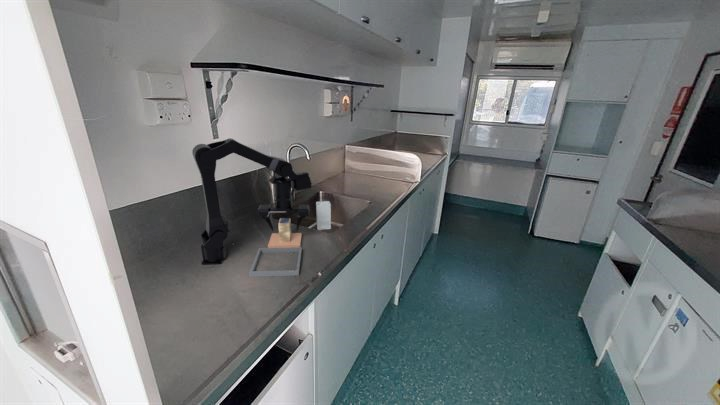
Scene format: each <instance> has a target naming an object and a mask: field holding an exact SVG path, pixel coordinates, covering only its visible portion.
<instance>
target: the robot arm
mask: <svg viewBox="0 0 720 405" xmlns="http://www.w3.org/2000/svg"><path fill="white" fill-rule="evenodd" d="M191 151H192V152H191V153H192V156H193V159H194V161H195V165H196V167H197V169H198V171H199V174H200V178H201V184H202V185H201V186H202V190H203V195H204V196H203V197H204V201H205V203H204V204H205V209H206V220H205V230H203V232H202V233H201V234H200V235H199V237H200V240H201V245H200V249H201V255H202V261H201V265H222V263H223V262H224V260H225V259H226V256H227V251H226V250H227V249H226V245H224V241H225V240H226V239H227V238H228V235H229V233H230V232H231V231H230V230H229V221H228V219H227V217H226V216H225V214H222V215H221V208H220V201H219V196H218V195H219V194H218V189H217V182H216V176H215V175H216V170H217V161H219V160H221V159H224V158H226V157H227V156H229V155H232V154H235V155H238V156H241V157H243V158H245V159H247V160H249V161H253V162H254V163H256V164H259V165H261V166H263V167H266V168H267V169H269V170H270V171H272V172H274V173H275V174H276V175H278V176H275V174H274V175H272V177H271V178H269V179H268V182H270V183H271V184H272V185H274V188H275V189H274V192H275V193H274V197H273V199H274V200H273V201H274V203H275V207H272V206H271V204H260V205H259V207H258V209H257V217H261V219H263V220H264V221H265V222H266V223H267V224H268V225H269V227H270V229H271V231H272V232H274V230H275V225H274V220H273V214H279V213H284V214H285V213H287V214H288V213H289V214H290V213H291V214H292V213H293V214H294V213H297V219H296V221H297V222H296V231H299V228H300V225H301V222H302V220H304V219H305V218H306V217H309V215H310V205H309V204H298V207H293V205H294V202H293V201H294V200H293V195H292V190H294V192H301V191H307V190H310V189H312V185H313V184H312V181H311V177H310V173H309V172H307V171H303V172H300V173H299V172H298V173H295V171H294V170H293V165H292V164H291V162H288V161H287V160H286V159H284V158H280V157H276V156H272V155H268V154H265V153H264V152H263V153H262V152H261V151H259V150H256V149H254V148H252V147H251V146H248V145H246V144H244V143H241V142H238V141H237V140H235V139H233V138H231V137H230V138H227V139H223V140H220V141H215V142H211V143H209V144H208V143H207V144H205V143H198V144H197V145H194V147H193V148H192V150H191Z"/></svg>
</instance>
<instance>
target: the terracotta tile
mask: <svg viewBox="0 0 720 405" xmlns="http://www.w3.org/2000/svg"><path fill="white" fill-rule="evenodd" d="M302 238H303V233H302V232H291V240H290V242H279V232H277V233H276V232H275V233H273V232H272V233H271V235H270V238H269V241H268V245H267V248H287V247H301V244H302Z"/></svg>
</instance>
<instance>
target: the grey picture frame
mask: <svg viewBox="0 0 720 405" xmlns="http://www.w3.org/2000/svg"><path fill="white" fill-rule="evenodd" d="M302 248H303V247H301V246H300V247H287V248H268V247H259V248H258V249H257V251H256V254H255V256H254V259H253V261H252V264H251V267H250V270H249V272H248V275H249V277H250V278H255V277H256V278H257V277H285V276H287V277H288V276H289V277H291V276H292V277H294V276H299V275H300V268H301V262H302V261H301V260H302V253H303V249H302ZM292 252H293V253H298V254H297V255H298V256H297V263H296V269H294V270H290V269H288V270H287V269H286V270H255V269H256V267H257V265H258V262H259V260H260V257H261V254H263V253H292Z"/></svg>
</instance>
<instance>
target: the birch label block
mask: <svg viewBox="0 0 720 405" xmlns="http://www.w3.org/2000/svg"><path fill="white" fill-rule="evenodd" d="M291 224H292V223H291V218H290V217H280V218H279V220H278V233H279V242H290V240H291V233H292V225H291Z"/></svg>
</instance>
